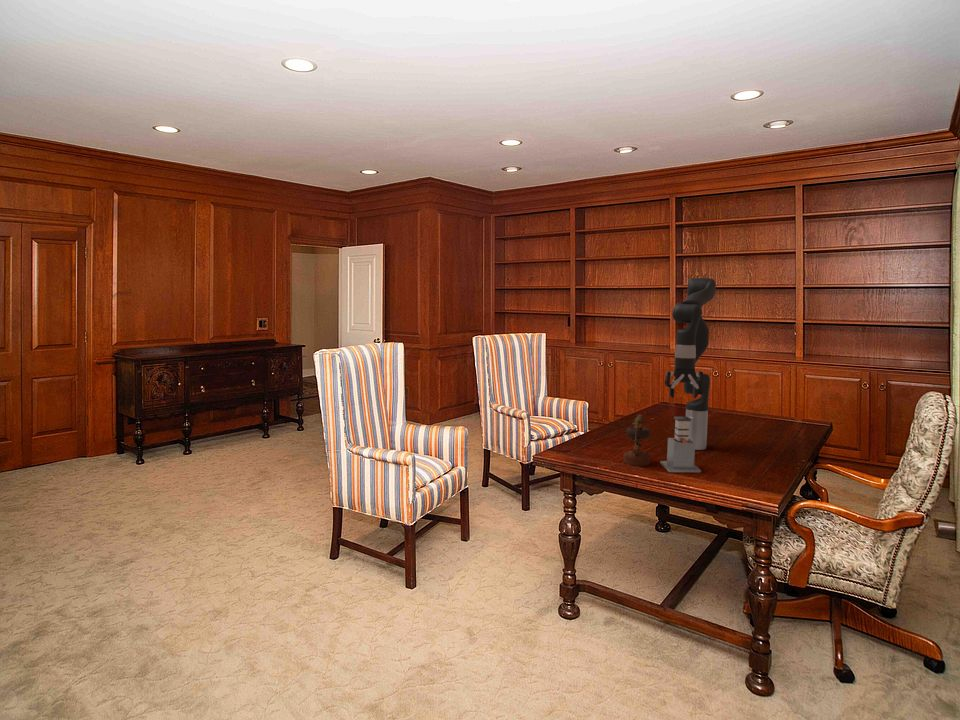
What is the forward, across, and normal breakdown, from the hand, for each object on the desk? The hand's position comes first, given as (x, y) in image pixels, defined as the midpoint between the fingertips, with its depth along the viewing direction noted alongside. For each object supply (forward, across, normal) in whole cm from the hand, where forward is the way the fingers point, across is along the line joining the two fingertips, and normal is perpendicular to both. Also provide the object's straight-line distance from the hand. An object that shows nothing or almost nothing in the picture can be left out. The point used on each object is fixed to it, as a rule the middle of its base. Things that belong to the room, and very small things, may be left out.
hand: (683, 397), depth 230 cm
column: (+27, 0, 0) cm, 27 cm away
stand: (+28, 0, 0) cm, 28 cm away
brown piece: (+28, +15, -8) cm, 33 cm away
